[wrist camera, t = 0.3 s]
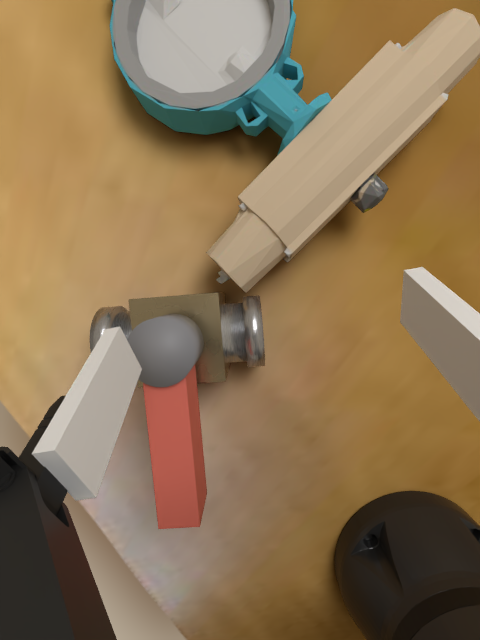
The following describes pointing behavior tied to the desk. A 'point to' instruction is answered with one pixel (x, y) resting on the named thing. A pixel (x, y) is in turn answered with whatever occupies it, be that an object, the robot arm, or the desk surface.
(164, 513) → the lever
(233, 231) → the butterfly valve
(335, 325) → the desk surface
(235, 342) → the valve body
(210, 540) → the desk surface
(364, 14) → the desk surface
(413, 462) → the desk surface
